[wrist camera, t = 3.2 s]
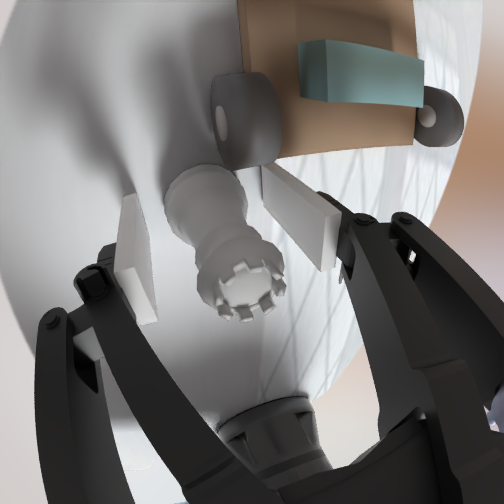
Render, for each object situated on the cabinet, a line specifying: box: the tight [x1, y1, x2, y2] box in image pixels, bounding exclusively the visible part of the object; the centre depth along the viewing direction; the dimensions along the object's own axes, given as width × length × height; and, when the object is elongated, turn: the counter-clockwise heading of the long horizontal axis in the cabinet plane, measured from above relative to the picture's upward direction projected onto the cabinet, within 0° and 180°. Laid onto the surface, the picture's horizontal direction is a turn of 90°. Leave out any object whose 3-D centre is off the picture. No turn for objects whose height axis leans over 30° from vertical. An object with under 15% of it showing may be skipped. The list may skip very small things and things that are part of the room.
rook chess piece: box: [164, 165, 286, 323], centre depth 12 cm, size 4×4×8 cm
